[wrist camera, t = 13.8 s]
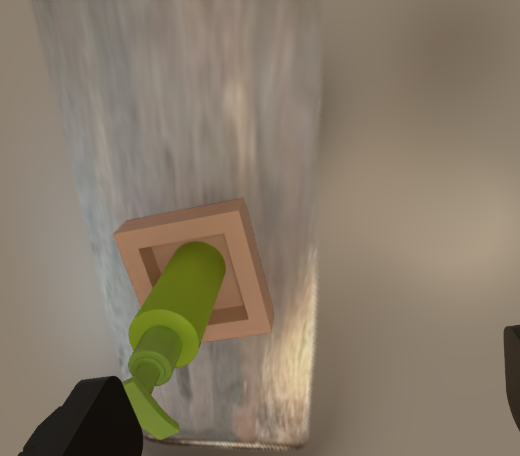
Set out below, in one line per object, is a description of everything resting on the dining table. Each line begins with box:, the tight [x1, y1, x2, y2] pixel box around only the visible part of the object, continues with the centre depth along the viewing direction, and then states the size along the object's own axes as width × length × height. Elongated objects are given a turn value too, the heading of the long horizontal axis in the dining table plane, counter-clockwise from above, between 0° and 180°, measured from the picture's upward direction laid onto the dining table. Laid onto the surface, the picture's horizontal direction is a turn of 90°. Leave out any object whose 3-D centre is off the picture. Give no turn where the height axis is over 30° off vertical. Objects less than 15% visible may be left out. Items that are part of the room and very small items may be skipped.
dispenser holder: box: [113, 198, 274, 342], centre depth 49 cm, size 14×13×4 cm
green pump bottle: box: [122, 241, 226, 440], centre depth 40 cm, size 6×7×20 cm
